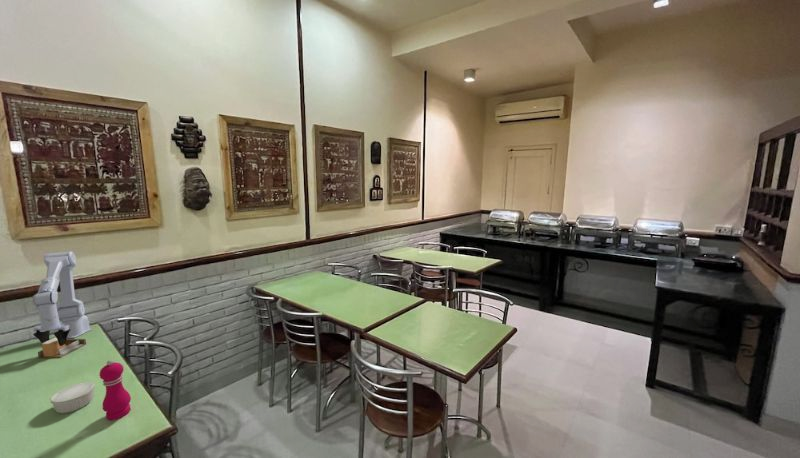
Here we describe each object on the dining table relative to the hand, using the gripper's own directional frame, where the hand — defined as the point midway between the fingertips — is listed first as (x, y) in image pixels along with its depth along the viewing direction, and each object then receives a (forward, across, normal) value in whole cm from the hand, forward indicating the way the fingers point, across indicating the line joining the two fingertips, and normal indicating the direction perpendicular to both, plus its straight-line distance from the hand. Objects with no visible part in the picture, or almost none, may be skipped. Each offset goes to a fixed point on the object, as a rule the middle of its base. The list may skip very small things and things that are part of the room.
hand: (54, 345), depth 148 cm
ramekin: (+4, +44, -35) cm, 56 cm away
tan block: (+4, 0, 0) cm, 4 cm away
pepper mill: (+4, +64, -40) cm, 75 cm away
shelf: (+4, +1, +2) cm, 5 cm away
